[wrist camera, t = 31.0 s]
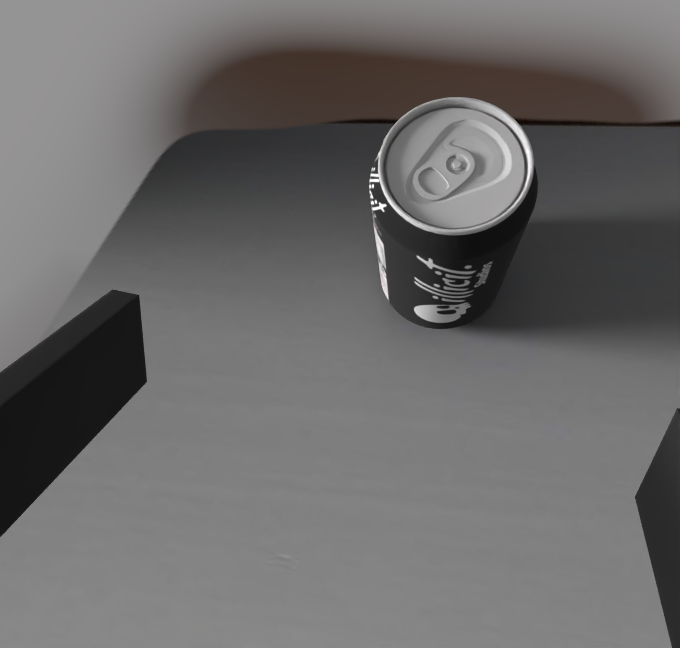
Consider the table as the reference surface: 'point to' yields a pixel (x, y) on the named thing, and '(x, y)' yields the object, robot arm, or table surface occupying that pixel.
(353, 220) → the table surface
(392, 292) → the beverage can
